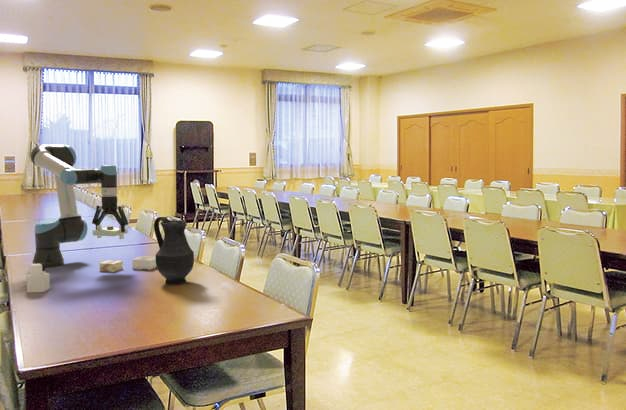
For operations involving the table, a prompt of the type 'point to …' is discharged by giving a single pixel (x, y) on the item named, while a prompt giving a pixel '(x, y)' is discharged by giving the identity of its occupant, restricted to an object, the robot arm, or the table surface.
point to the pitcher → (173, 251)
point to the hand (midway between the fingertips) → (110, 238)
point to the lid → (108, 231)
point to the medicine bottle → (37, 278)
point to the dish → (144, 262)
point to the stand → (111, 266)
